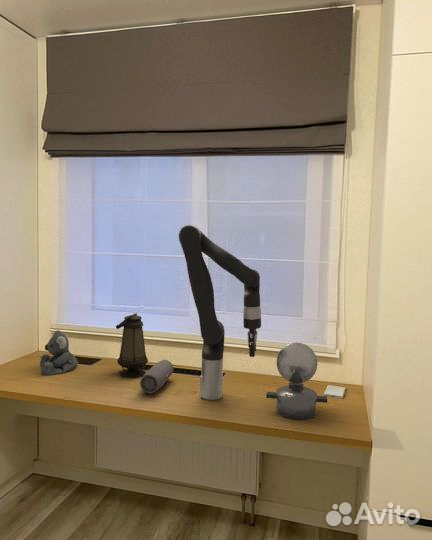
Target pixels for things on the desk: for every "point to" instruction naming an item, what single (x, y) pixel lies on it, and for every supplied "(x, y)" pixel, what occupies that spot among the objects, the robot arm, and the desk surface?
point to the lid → (296, 363)
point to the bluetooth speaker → (156, 376)
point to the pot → (296, 402)
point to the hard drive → (335, 391)
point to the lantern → (132, 347)
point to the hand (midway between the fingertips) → (252, 353)
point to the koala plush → (57, 356)
